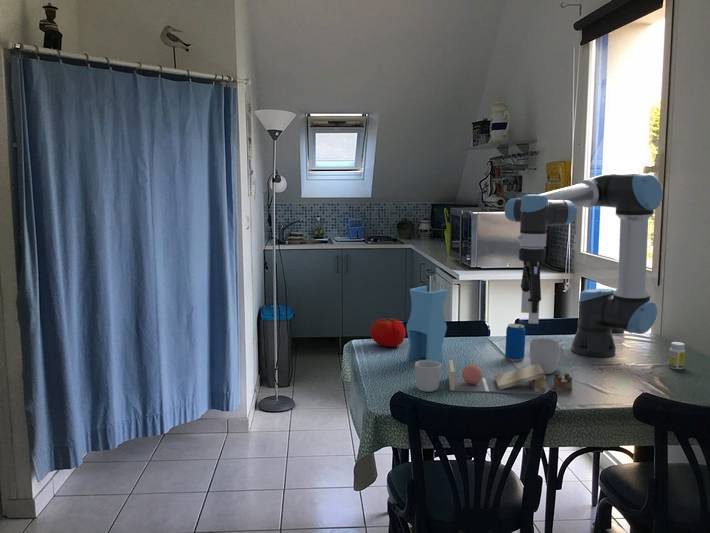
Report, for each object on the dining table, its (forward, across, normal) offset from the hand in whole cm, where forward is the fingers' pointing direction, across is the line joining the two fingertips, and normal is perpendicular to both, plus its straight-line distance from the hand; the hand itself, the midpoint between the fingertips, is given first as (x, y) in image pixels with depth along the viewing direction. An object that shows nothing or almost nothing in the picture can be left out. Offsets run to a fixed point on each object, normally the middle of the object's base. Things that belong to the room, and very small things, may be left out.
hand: (529, 317), depth 192 cm
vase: (+22, -24, -30) cm, 44 cm away
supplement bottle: (+23, -27, +54) cm, 64 cm away
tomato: (+22, -41, -44) cm, 64 cm away
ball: (+21, 0, -16) cm, 26 cm away
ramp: (+22, 0, -2) cm, 22 cm away
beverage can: (+22, -30, +1) cm, 37 cm away
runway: (+22, 0, -8) cm, 23 cm away
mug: (+22, -18, +10) cm, 30 cm away
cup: (+22, +4, -30) cm, 38 cm away
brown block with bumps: (+22, 0, +11) cm, 24 cm away
